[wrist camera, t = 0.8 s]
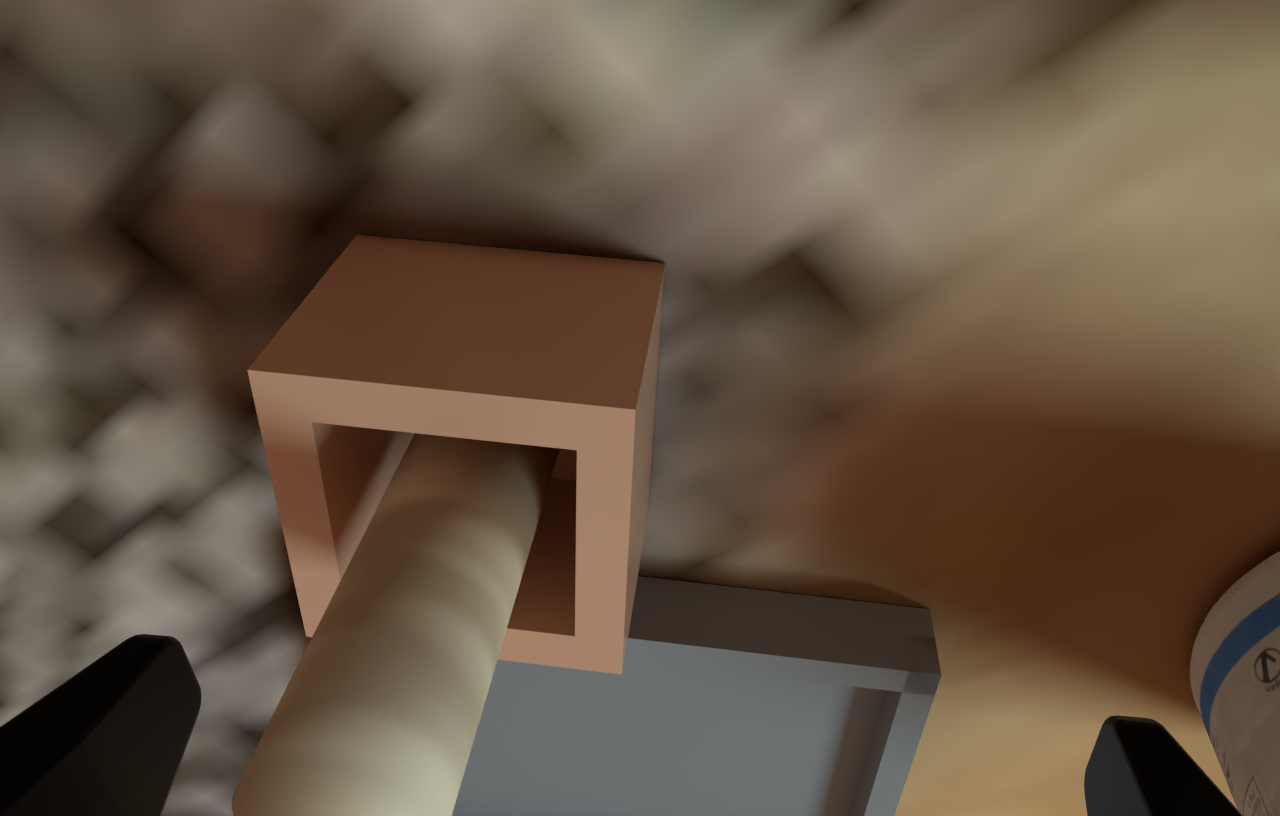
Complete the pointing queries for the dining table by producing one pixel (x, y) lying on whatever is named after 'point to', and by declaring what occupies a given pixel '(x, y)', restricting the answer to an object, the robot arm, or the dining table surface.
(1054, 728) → the dining table surface
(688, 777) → the tray
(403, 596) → the dowel
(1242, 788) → the supplement tub
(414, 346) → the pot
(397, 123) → the dining table surface
